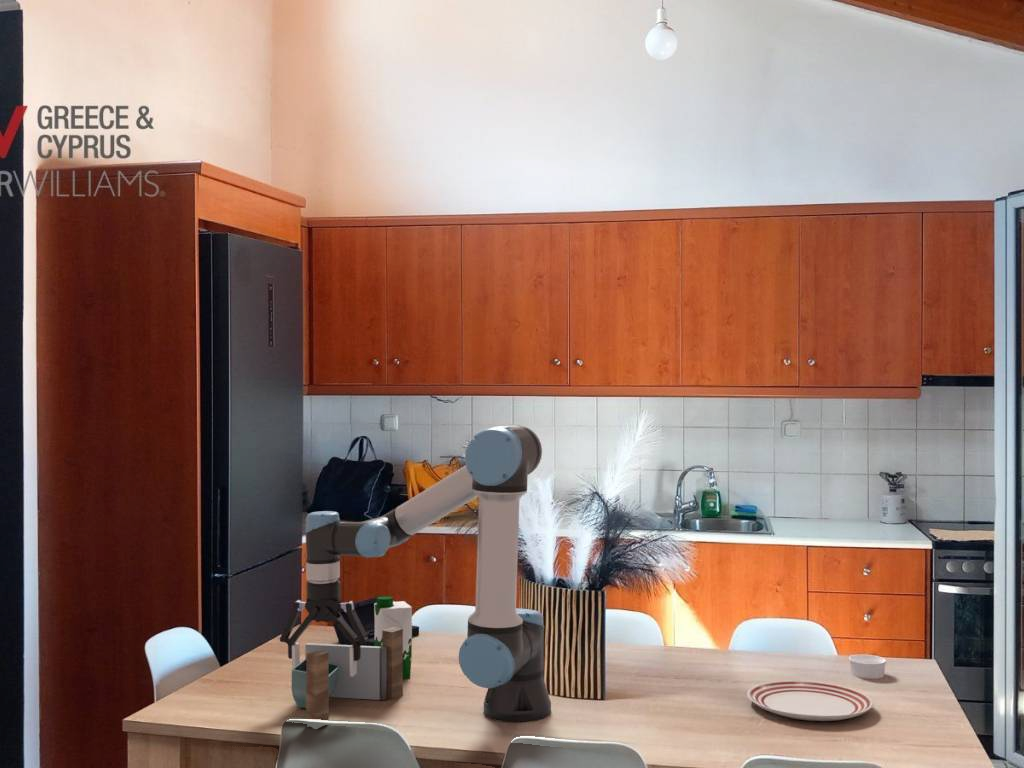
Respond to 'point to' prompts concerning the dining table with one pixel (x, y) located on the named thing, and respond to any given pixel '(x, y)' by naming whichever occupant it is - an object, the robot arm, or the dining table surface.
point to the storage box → (364, 622)
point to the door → (369, 671)
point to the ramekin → (867, 666)
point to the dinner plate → (810, 700)
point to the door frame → (320, 674)
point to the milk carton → (395, 625)
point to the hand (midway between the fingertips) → (324, 674)
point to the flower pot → (300, 682)
